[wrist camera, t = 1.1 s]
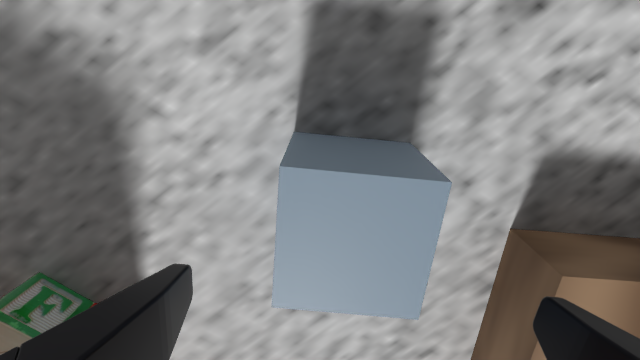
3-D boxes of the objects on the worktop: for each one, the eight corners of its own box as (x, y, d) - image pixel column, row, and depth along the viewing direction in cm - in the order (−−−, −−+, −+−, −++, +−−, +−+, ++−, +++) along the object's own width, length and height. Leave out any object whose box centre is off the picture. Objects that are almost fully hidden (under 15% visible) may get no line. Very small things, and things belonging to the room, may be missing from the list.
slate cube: (409, 142, 14) (451, 182, 10) (390, 243, 16) (418, 319, 11) (294, 131, 14) (279, 166, 10) (286, 234, 16) (271, 307, 11)
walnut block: (711, 240, 16) (830, 295, 12) (630, 390, 19) (703, 470, 16) (506, 225, 16) (562, 276, 12) (460, 379, 19) (493, 456, 16)
